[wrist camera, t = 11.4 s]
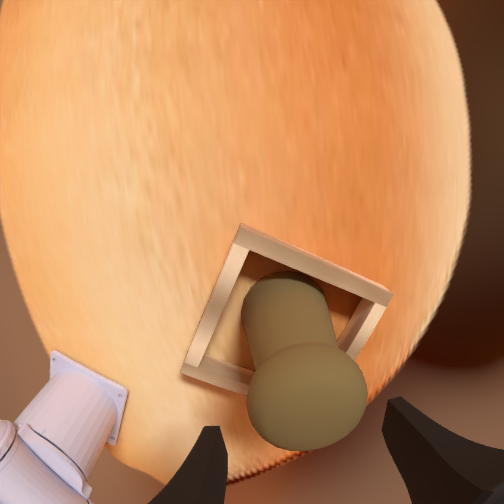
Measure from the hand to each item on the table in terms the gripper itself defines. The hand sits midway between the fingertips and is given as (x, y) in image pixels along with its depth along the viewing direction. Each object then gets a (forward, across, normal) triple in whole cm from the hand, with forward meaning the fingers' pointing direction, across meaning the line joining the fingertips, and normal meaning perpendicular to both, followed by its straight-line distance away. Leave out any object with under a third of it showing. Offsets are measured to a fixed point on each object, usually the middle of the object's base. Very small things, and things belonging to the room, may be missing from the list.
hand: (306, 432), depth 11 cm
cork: (+11, 0, -1) cm, 11 cm away
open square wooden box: (+10, 0, 0) cm, 10 cm away
